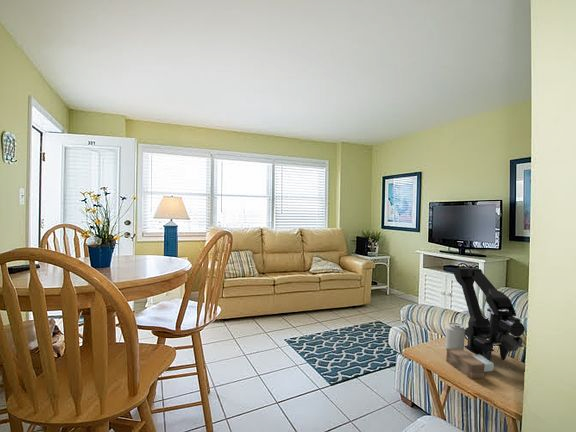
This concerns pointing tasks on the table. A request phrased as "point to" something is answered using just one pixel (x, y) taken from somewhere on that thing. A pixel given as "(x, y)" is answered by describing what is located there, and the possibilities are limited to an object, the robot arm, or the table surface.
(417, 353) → the table surface
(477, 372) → the wooden block
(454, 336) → the can
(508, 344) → the robot arm
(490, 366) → the panel
